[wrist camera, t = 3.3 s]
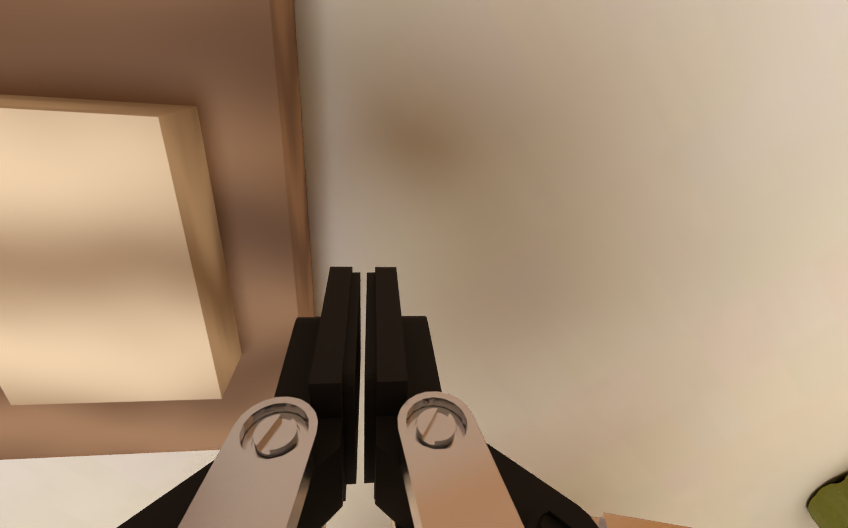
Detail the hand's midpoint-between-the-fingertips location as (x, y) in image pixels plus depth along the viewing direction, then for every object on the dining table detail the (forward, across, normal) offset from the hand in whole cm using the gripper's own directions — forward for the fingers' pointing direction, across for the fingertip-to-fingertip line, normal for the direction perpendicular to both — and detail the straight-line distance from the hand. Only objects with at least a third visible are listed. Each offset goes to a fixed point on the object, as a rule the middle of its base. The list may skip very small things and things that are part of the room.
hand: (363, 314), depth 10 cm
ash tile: (+5, +9, +1) cm, 10 cm away
